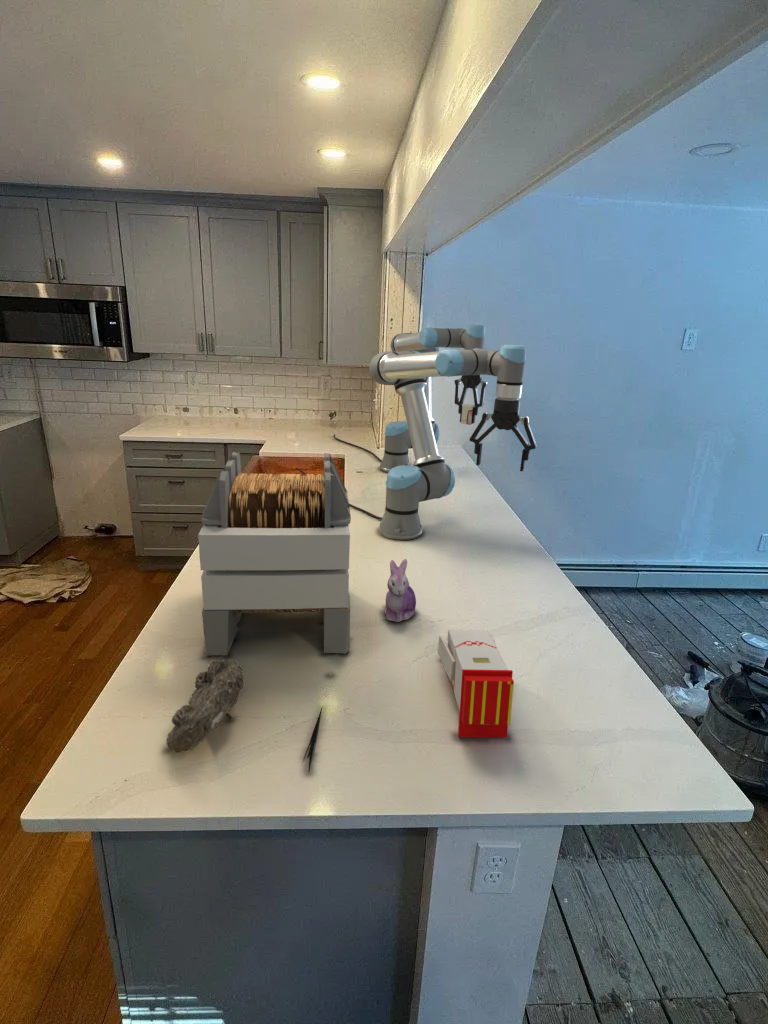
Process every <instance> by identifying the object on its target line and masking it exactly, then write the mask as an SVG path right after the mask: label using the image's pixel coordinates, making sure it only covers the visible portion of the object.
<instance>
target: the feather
mask: <svg viewBox="0 0 768 1024" xmlns="http://www.w3.org/2000/svg"><path fill="white" fill-rule="evenodd" d="M329 675H330V676H331V675H332V674H331V673H330V674H329ZM322 710H323V707H321V708H320V710H319V713H318V716H317V719H316V723H315V725H314V728H313V731H312V733H311V737H310V739H309V742H308V745H307V748H306V751H305V754H304V757H303V760H302V763H301V767H302V765H303V763H304V761H305V758H308V759H309V760H308V762H307V763H308V764H307V766H308V771H310V770H311V766H312V765H311V764H312V760H313V757H315V756H314V755H315V751H316V749H315V746H317V739H318V733H319V729H320V722H321V717H322V712H323V711H322ZM313 754H314V755H313ZM306 755H307V757H306Z"/></svg>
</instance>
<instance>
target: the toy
mask: <svg viewBox="0 0 768 1024" xmlns="http://www.w3.org/2000/svg"><path fill="white" fill-rule="evenodd" d="M446 640H447V643H446V641H445V639H444V636H443V635H442V634H439V637H438V646H437V656H438V657H439V659H440V661H441V663H442V666H443V668H444V670H445V672H446V674H447V677H448V679H449V681H450V684H451V687H452V690H453V693H454V697H455V701H456V705H457V708H458V711H459V714H458V715H459V716H458V730H457V731H458V732H457V737H458V738H508V731H509V726H510V725H511V717H512V707H513V697H514V696H513V695H514V684H515V680H514V679H513V673H514V671H513V670H512V669H508V667H507V665H506V662H505V661H504V659H503V658H502V655H501V653H500V651H499V649H498V647H497V643H496V639H495V637H494V635H493V634H491V632H490V631H489V629H467V628H466V629H465V628H463V629H461V628H460V629H459V628H448V630H447V639H446Z"/></svg>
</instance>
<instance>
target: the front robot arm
mask: <svg viewBox="0 0 768 1024" xmlns="http://www.w3.org/2000/svg"><path fill="white" fill-rule="evenodd" d="M526 362H527V348H526V347H525V345H521V344H507V343H506V344H502V345H501V346H500V348H499V350H496V349H489V348H475V349H468V350H464V349H456V348H449V349H448V348H446V349H443V350H439V351H436V352H426V353H420V352H416V351H392V350H391V351H390V350H388V351H387V350H386V351H382V352H379V353H377V354H375V355H374V356H373V357H372V359H371V361H370V362H369V373H370V377H371V378H372V379H373V380H374V381H375V382H376V383H378V384H380V385H382V386H393V387H394V391H395V394H397V395H399V396H400V397H401V402H402V403H401V404H402V408H403V411H404V415H405V421H407V425H408V429H409V434H410V438H411V443H412V447H413V448H412V451H413V455H414V459H415V460H414V462H413V464H410V465H406V466H405V465H402V466H397V467H394V468H392V469H391V470H389V472H388V473H386V474H387V475H386V479H385V504H384V505H385V507H384V508H385V509H384V513H383V515H382V517H381V516H377V515H375V514H373V513H371V512H369V511H367V510H366V509H363V508H360V507H359V506H356V505H353V504H351V503H349V507H351V508H353V509H355V510H357V511H360V512H362V513H364V514H367V515H369V516H370V517H373V518H375V519H377V520H381V522H379V527H378V533H379V534H380V535H381V536H382V537H385V538H387V539H389V540H395V541H410V540H415V539H418V538H420V537H421V536H422V535H423V525H422V524H421V518H420V515H419V507H420V506H419V505H420V503H421V502H426V501H427V502H428V501H430V500H431V501H432V500H438V499H441V498H444V497H446V496H448V495H450V494H452V492H453V489H454V488H455V485H456V473H455V471H454V469H453V468H451V466H450V465H449V464H447V463H446V461H445V458H444V457H443V456H441V455H440V454H439V450H438V445H437V443H436V441H435V436H434V432H433V428H432V423H431V419H430V414H429V410H428V406H427V401H426V397H425V393H424V389H425V388H426V386H427V382H426V381H427V380H428V379H429V377H431V378H438V377H439V378H441V377H442V378H443V377H447V378H449V377H462V376H464V375H481V376H485V375H486V376H493V377H496V385H495V395H494V396H495V397H496V398H495V399H494V403H493V412H492V413H488V412H487V411H484V412H483V413H482V415H481V420H480V421H479V423H478V424H477V426H476V428H475V429H474V431H473V433H472V434H471V435H470V437H469V441H470V442H471V443H474V451H473V453H474V455H476V463H475V466H480V465H481V463H482V462H481V461H482V454H483V453H482V452H483V443H481V442H482V441H483V440H484V439H486V437H487V436H489V434H491V433H492V432H493V431H494V430H495V429H498V430H502V431H503V430H504V431H512V433H514V435H515V436H516V438H517V439H518V441H519V443H520V444H521V445H522V446H523V449H522V451H521V452H522V453H521V460H520V466H519V467H520V468H519V469H520V470H519V472H524V469H525V462H528V461H529V459H530V452H531V450H535V449H536V448H537V446H538V445H537V442H536V439H535V436H534V433H533V431H532V428H531V425H530V417H529V416H528V415H527V416H520V408H521V400H520V399H521V398H522V392H523V391H522V390H523V383H524V382H523V379H524V375H525V374H524V373H525V368H526ZM490 419H491V420H492V423H493V424H491V426H489V427H488V428H487V429H486V430H485V431H484V432H483V433H482V434H481V435H480V436H479V437H478V438H477V436H478V435H479V433H480V432H481V430H482V429H483V427H484V425H485V424H486V423H487V421H490ZM519 422H520V423H521V425H523V428H524V430H525V434H526V436H527V438H528V440H527V439H526V437H525V436H524V435H523V433H522V431H521V430H520V428H519V426H518V425H517V424H518V423H519ZM528 441H529V442H528ZM295 470H297V471H298V472H300V474H301V473H302V475H303V476H304V475H305V476H306V475H307V474H308V473H306V472H304V471H303V470H302V469H300V468H299V467H296V468H295Z"/></svg>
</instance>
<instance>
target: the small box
mask: <svg viewBox="0 0 768 1024" xmlns="http://www.w3.org/2000/svg"><path fill="white" fill-rule="evenodd" d="M473 407H475V404H473V403H471V404H470V403H463V405H462V418H461V422H460V424H461V425H469V426H471V425H473V424H472V413H473Z"/></svg>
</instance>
